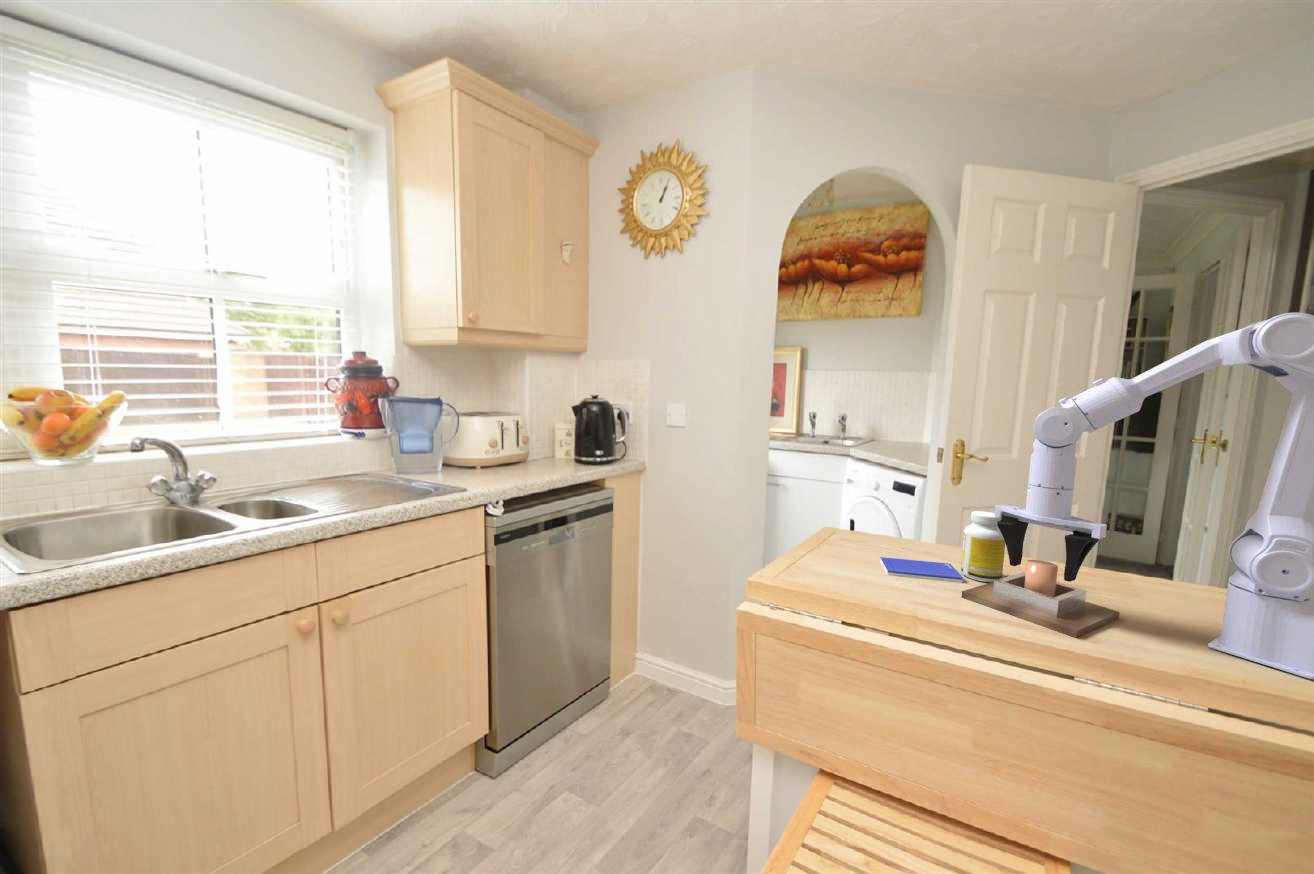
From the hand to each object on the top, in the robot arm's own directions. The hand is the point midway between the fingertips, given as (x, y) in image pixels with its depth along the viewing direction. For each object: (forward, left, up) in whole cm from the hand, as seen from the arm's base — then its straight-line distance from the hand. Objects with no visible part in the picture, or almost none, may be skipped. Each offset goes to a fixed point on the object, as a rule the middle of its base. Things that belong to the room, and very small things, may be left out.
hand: (1041, 572), depth 86 cm
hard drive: (+19, +2, -7) cm, 20 cm away
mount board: (0, 0, -6) cm, 6 cm away
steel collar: (0, 0, -6) cm, 6 cm away
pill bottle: (+12, -6, -6) cm, 15 cm away
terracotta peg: (0, 0, -5) cm, 5 cm away
